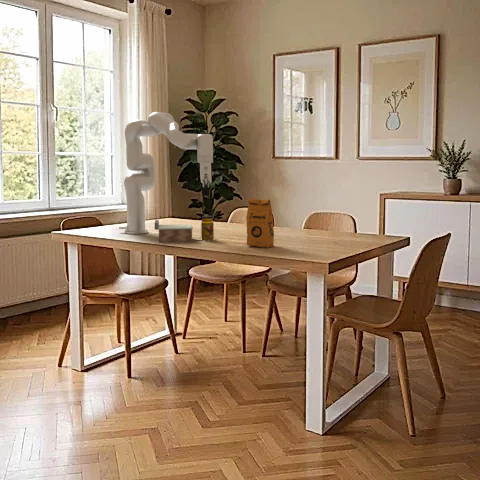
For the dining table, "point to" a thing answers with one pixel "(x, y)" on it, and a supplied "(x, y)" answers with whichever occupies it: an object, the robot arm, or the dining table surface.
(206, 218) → the condiment
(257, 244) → the coffee package
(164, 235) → the box
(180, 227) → the lid
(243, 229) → the dining table surface
